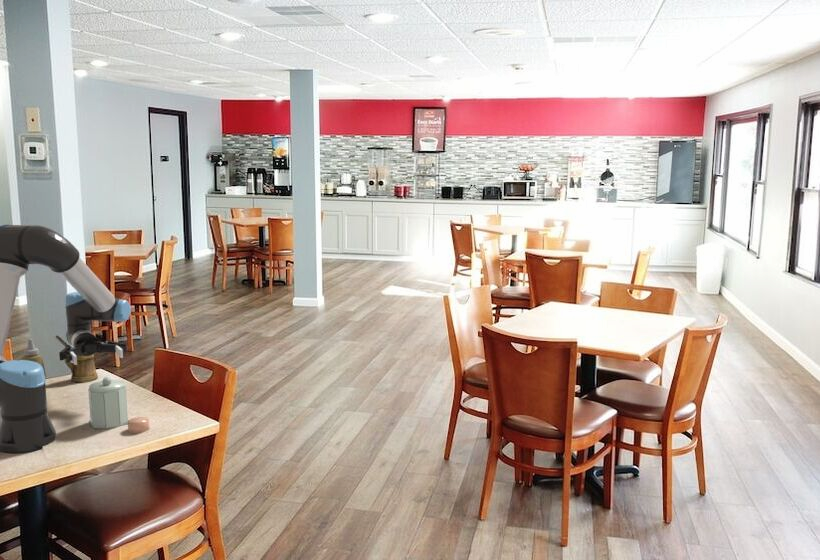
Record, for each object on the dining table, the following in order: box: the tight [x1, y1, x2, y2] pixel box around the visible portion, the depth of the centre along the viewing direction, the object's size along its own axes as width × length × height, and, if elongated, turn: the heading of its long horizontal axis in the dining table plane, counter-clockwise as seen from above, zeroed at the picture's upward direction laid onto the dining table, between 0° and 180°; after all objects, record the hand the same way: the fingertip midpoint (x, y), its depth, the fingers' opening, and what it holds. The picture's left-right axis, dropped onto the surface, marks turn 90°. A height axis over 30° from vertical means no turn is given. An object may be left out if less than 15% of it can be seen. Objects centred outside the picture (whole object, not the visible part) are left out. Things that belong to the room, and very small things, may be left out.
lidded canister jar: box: [88, 376, 129, 430], centre depth 223 cm, size 10×10×14 cm
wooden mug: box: [55, 335, 99, 383], centre depth 269 cm, size 9×14×18 cm, turn 131°
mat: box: [88, 420, 128, 431], centre depth 225 cm, size 10×10×1 cm
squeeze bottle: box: [20, 338, 47, 379], centre depth 258 cm, size 8×8×18 cm
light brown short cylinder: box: [127, 416, 150, 434], centre depth 219 cm, size 6×6×4 cm
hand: (99, 357), depth 230 cm, fingers open, 13 cm apart
